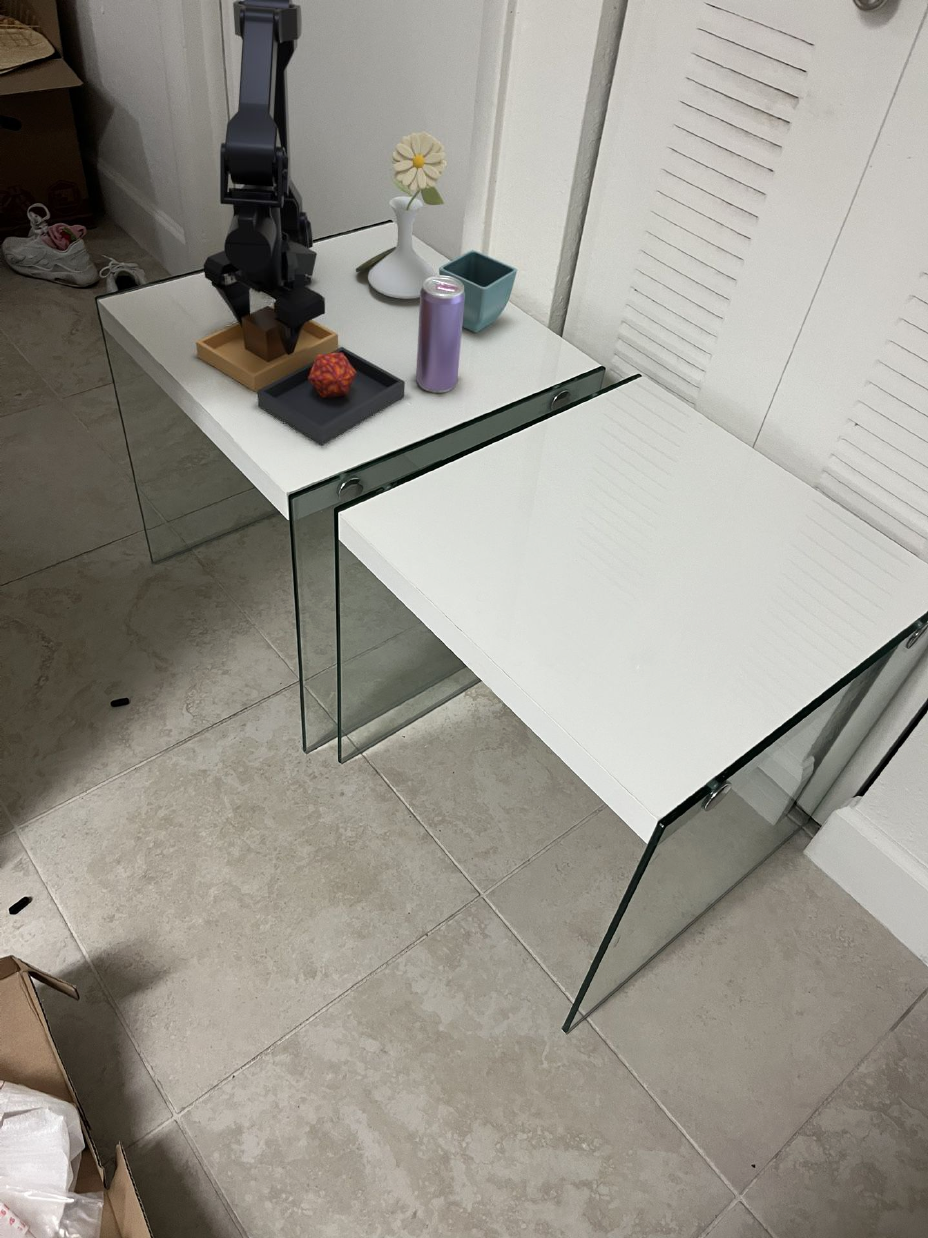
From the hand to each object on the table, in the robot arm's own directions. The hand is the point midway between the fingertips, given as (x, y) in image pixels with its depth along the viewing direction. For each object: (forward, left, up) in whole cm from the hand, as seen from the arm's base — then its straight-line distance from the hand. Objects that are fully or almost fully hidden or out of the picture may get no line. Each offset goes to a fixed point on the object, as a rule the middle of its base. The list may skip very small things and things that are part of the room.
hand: (268, 340), depth 137 cm
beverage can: (+22, +12, -2) cm, 25 cm away
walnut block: (0, 0, -2) cm, 2 cm away
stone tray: (+15, -2, -2) cm, 15 cm away
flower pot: (+15, +29, -2) cm, 33 cm away
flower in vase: (+1, +29, -2) cm, 29 cm away
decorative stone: (+14, -1, -2) cm, 14 cm away
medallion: (-5, +29, +1) cm, 29 cm away
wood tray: (0, 0, -2) cm, 2 cm away
